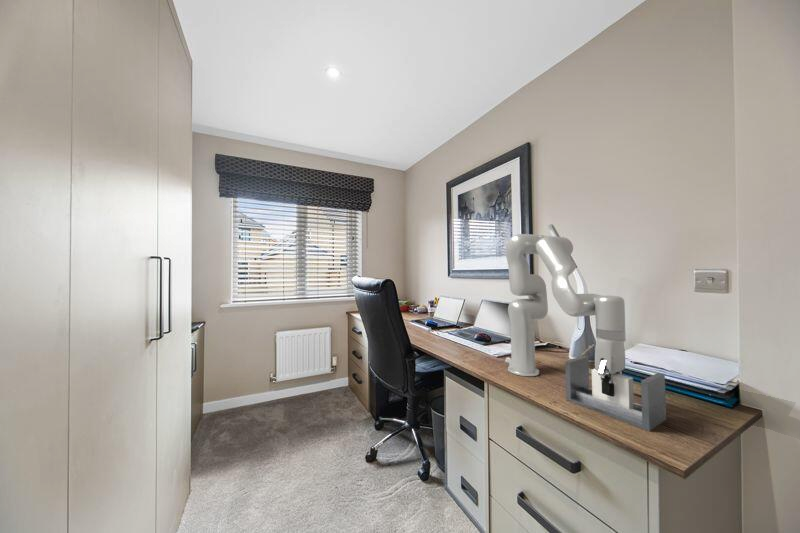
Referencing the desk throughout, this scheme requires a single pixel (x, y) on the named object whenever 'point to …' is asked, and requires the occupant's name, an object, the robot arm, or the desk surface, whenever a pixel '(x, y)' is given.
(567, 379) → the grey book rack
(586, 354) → the jawbone
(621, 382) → the door
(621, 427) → the desk surface
